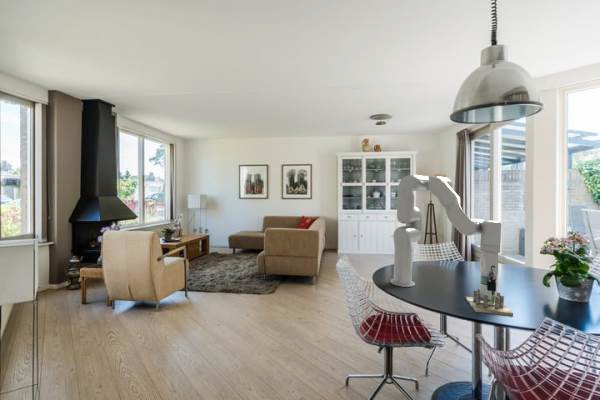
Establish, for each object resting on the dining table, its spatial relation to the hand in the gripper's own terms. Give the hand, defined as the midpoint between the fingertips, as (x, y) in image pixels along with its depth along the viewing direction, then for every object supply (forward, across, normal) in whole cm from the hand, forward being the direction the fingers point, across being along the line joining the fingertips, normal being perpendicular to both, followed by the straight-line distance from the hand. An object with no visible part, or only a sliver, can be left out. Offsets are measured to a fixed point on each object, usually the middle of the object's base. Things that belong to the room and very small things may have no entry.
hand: (488, 287), depth 134 cm
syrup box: (+6, 0, 0) cm, 6 cm away
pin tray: (+9, 0, 0) cm, 9 cm away
